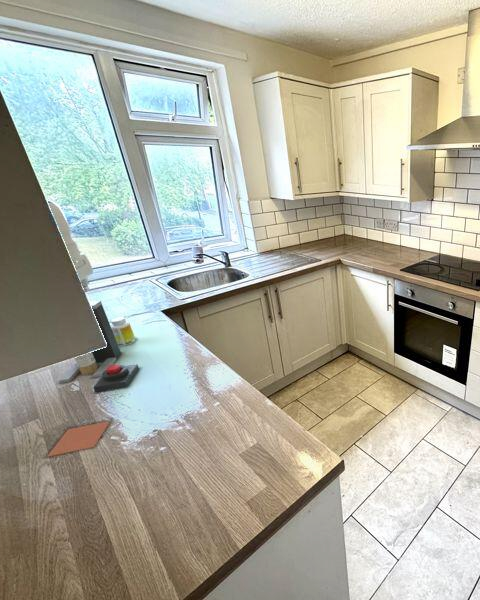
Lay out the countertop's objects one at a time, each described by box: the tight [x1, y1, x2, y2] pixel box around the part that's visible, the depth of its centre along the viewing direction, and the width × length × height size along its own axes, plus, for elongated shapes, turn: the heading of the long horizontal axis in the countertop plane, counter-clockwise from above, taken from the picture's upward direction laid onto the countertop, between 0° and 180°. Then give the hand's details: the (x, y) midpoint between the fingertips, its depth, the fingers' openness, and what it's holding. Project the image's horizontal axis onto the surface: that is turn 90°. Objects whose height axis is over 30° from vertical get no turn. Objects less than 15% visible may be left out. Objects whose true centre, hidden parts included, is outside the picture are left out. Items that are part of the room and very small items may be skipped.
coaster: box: [46, 420, 111, 458], centre depth 82 cm, size 9×9×1 cm
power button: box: [107, 363, 121, 375], centre depth 102 cm, size 3×3×2 cm
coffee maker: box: [58, 300, 122, 384], centre depth 105 cm, size 11×14×21 cm
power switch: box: [93, 363, 140, 393], centre depth 103 cm, size 8×10×4 cm
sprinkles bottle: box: [73, 352, 100, 376], centre depth 105 cm, size 5×5×14 cm
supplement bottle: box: [110, 316, 136, 347], centre depth 123 cm, size 6×6×10 cm
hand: (77, 297), depth 103 cm, fingers open, 8 cm apart
